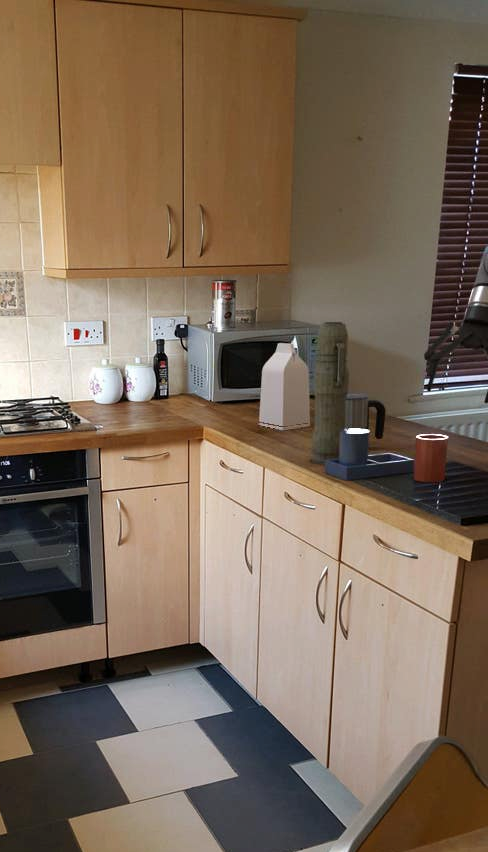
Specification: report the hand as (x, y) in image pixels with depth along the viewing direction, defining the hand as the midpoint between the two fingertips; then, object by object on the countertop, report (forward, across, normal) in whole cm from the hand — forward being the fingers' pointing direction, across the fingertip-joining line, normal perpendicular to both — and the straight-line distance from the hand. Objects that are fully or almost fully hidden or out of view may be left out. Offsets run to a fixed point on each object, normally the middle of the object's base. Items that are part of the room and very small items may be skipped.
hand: (457, 395), depth 209 cm
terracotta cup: (+22, 0, +3) cm, 22 cm away
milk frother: (+12, +26, -32) cm, 43 cm away
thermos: (+20, +27, -12) cm, 36 cm away
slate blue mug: (+24, +18, +2) cm, 30 cm away
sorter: (+23, +15, -1) cm, 27 cm away
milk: (+5, +54, -61) cm, 82 cm away
